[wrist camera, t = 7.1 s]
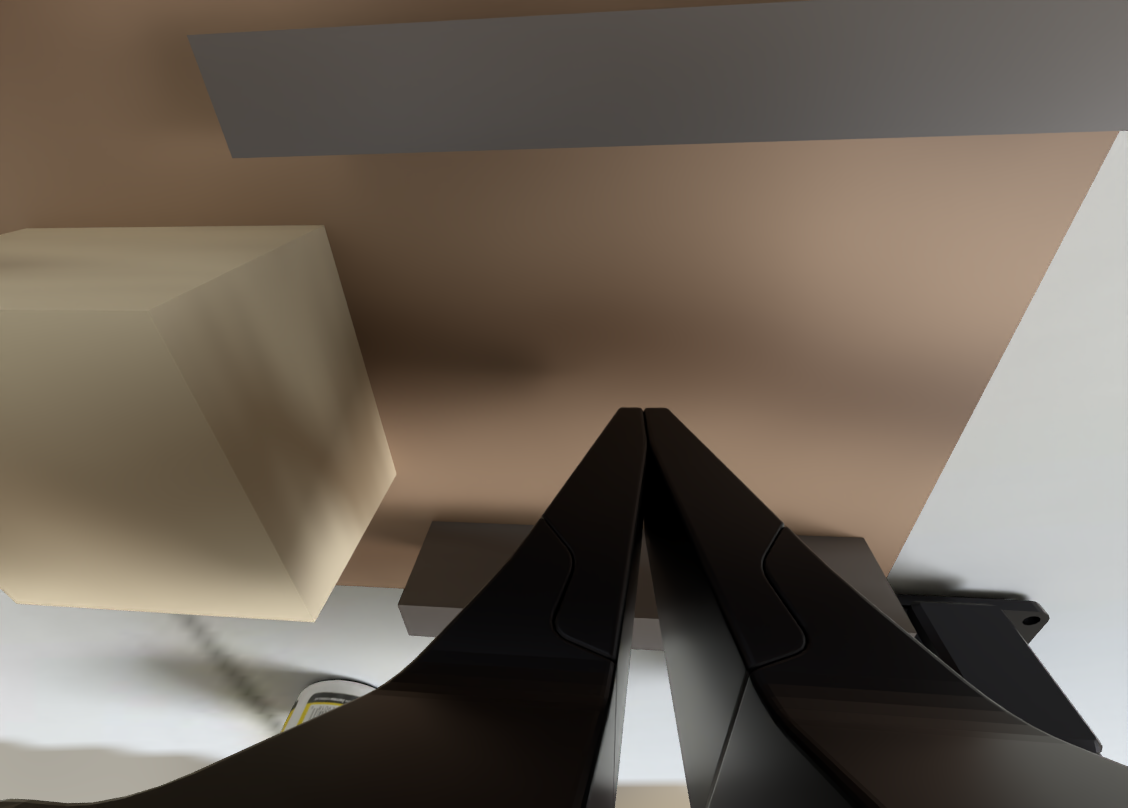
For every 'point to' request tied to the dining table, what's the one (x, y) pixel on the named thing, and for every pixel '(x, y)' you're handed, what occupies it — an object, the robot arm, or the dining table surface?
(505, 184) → the lane board
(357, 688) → the supplement bottle
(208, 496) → the block
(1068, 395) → the dining table surface
